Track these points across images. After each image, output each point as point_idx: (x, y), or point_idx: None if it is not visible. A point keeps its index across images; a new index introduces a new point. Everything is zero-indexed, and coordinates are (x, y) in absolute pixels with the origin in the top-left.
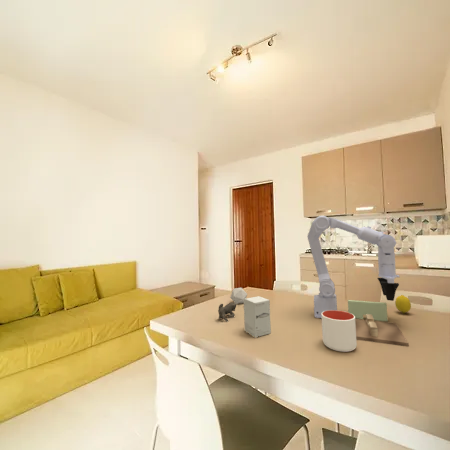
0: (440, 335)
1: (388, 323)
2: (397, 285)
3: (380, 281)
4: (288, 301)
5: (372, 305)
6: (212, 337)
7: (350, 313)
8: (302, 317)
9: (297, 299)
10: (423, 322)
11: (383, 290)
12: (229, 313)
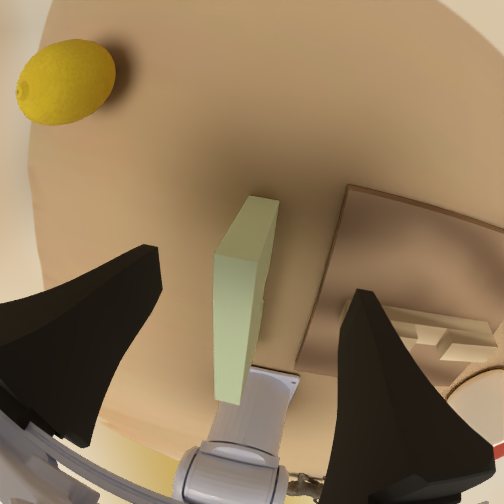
0: (453, 29)
1: (360, 231)
2: (487, 456)
3: (92, 416)
4: (151, 410)
5: (252, 322)
6: None
7: (497, 444)
8: (286, 425)
9: (121, 390)
10: (246, 4)
11: (137, 323)
12: (304, 481)
